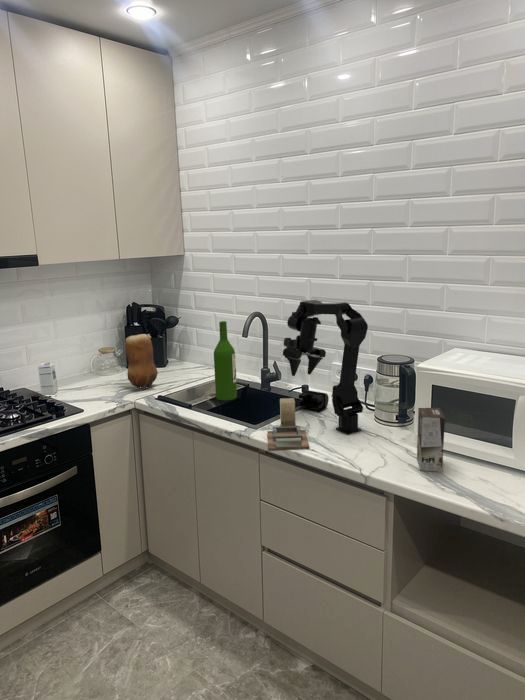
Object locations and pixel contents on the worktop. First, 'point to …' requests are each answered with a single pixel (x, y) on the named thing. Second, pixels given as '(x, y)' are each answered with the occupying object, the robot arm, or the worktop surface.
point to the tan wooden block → (287, 412)
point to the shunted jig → (287, 438)
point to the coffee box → (430, 439)
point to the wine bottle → (225, 367)
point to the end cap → (313, 401)
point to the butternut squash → (140, 360)
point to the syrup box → (47, 379)
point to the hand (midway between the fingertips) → (301, 375)
